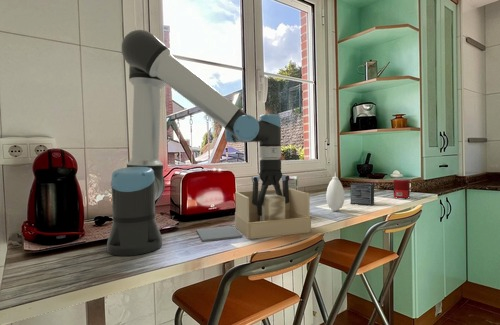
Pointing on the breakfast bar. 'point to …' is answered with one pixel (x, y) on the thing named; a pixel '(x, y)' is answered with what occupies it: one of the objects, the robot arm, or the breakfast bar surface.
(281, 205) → the box
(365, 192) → the small box
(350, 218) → the breakfast bar surface
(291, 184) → the candy bar box
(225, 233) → the mat
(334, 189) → the air blower bulb
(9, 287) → the breakfast bar surface
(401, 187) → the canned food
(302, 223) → the carton
